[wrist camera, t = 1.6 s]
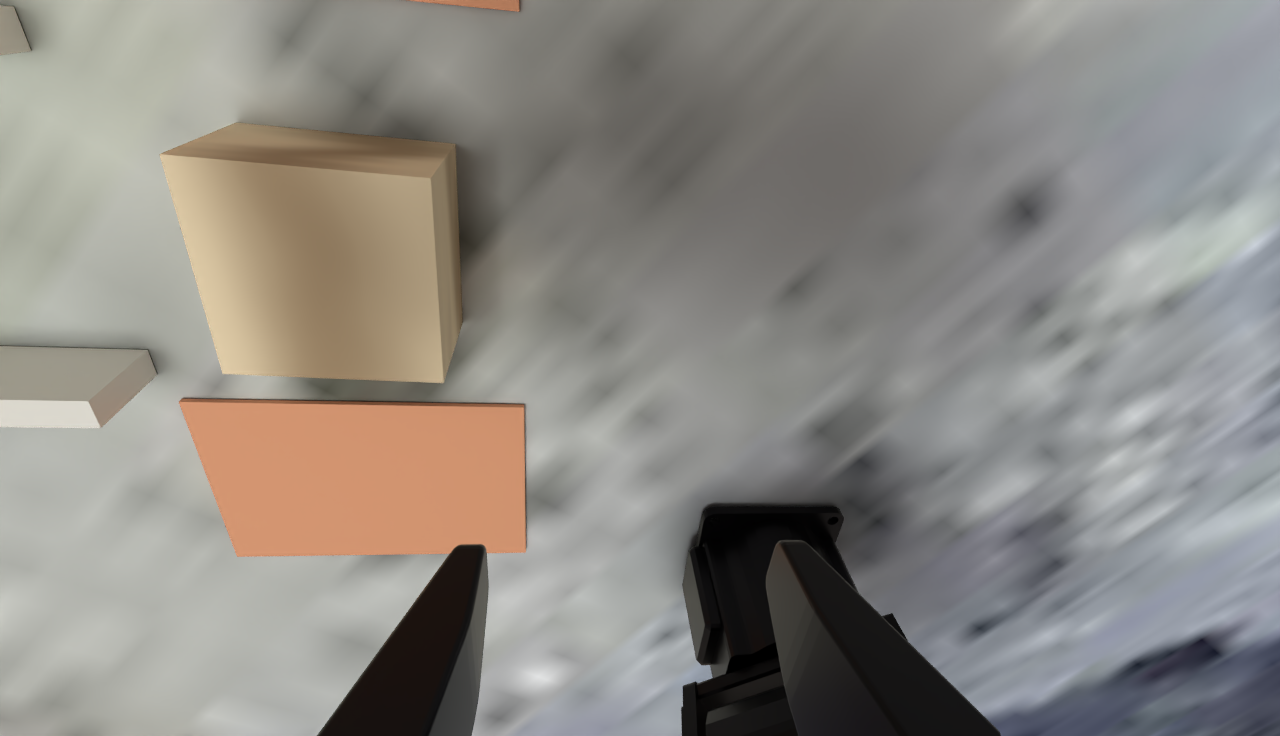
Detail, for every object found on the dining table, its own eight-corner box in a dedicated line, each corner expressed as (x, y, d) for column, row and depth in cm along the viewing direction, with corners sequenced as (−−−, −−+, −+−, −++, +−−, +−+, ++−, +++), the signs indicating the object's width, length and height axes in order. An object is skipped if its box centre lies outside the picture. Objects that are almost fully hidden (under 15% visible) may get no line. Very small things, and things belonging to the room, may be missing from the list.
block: (456, 142, 18) (430, 178, 15) (463, 320, 21) (443, 383, 18) (239, 121, 17) (159, 154, 14) (279, 309, 20) (222, 373, 17)
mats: (514, -450, 12) (513, -457, 12) (525, 548, 27) (525, 552, 27) (-188, -590, 11) (-200, -599, 10) (239, 552, 26) (237, 556, 26)
